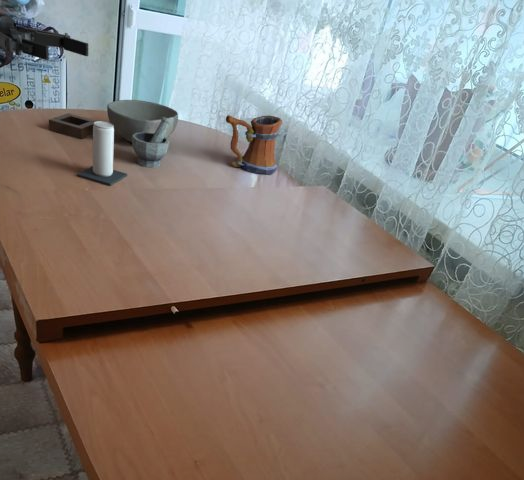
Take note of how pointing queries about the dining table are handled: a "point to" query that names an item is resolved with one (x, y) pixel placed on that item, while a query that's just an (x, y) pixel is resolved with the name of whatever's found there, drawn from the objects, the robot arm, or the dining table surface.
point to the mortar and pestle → (151, 145)
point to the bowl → (139, 117)
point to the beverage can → (103, 148)
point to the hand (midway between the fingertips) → (68, 51)
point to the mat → (104, 180)
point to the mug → (256, 144)
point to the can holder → (72, 125)
